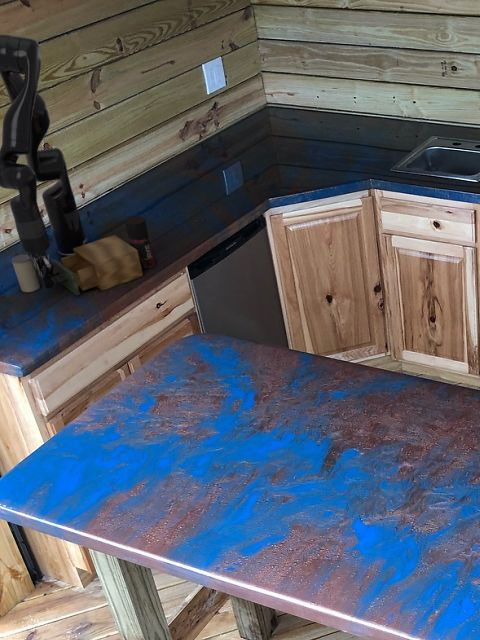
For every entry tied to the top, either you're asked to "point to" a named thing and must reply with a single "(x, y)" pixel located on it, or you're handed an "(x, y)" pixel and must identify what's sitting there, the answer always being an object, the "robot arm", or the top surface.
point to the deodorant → (140, 240)
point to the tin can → (25, 273)
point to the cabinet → (111, 261)
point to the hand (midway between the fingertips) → (49, 287)
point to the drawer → (74, 273)
